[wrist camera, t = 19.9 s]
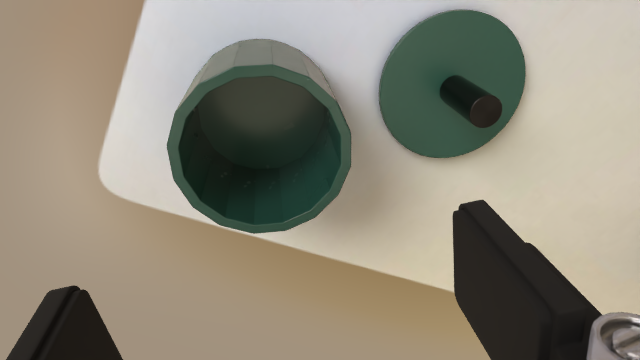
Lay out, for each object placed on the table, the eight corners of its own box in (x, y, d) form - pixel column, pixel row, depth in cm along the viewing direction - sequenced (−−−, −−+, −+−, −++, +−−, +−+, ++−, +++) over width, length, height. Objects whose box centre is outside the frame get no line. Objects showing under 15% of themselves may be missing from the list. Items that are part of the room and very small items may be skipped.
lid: (354, 129, 38) (372, 164, 32) (416, -16, 34) (451, -10, 27) (474, 168, 41) (513, 207, 35) (545, 40, 37) (605, 57, 30)
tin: (176, 152, 37) (150, 208, 29) (211, 16, 33) (193, 36, 25) (304, 188, 40) (315, 249, 32) (351, 67, 36) (379, 101, 27)
